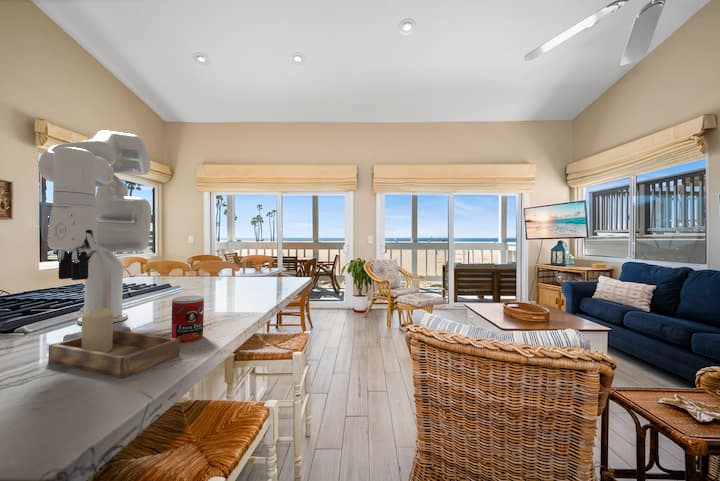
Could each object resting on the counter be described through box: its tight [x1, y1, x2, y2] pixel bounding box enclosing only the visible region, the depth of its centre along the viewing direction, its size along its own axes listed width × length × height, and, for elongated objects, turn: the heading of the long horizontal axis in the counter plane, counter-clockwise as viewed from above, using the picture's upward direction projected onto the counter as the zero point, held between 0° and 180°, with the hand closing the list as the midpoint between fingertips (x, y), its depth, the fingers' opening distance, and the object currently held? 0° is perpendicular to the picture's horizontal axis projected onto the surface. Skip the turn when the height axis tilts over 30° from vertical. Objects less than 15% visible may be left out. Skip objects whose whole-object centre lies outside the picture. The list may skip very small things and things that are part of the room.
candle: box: [81, 307, 114, 353], centre depth 73 cm, size 6×6×10 cm
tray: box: [48, 329, 181, 379], centre depth 71 cm, size 22×13×4 cm, turn 73°
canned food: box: [170, 295, 205, 344], centre depth 87 cm, size 8×8×11 cm
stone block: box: [62, 324, 132, 342], centre depth 82 cm, size 12×5×10 cm
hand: (73, 278), depth 76 cm, fingers open, 3 cm apart
